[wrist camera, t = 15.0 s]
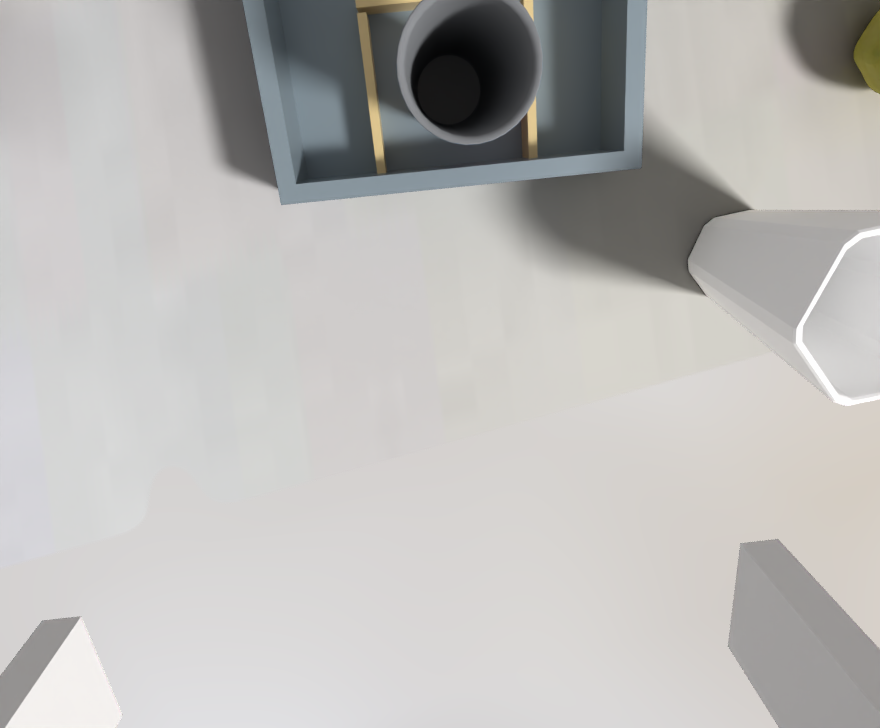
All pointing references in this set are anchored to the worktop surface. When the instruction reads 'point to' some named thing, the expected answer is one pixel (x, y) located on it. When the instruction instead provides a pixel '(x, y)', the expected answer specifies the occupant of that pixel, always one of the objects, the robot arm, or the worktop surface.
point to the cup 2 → (802, 290)
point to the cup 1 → (469, 67)
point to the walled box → (397, 131)
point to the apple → (870, 53)
